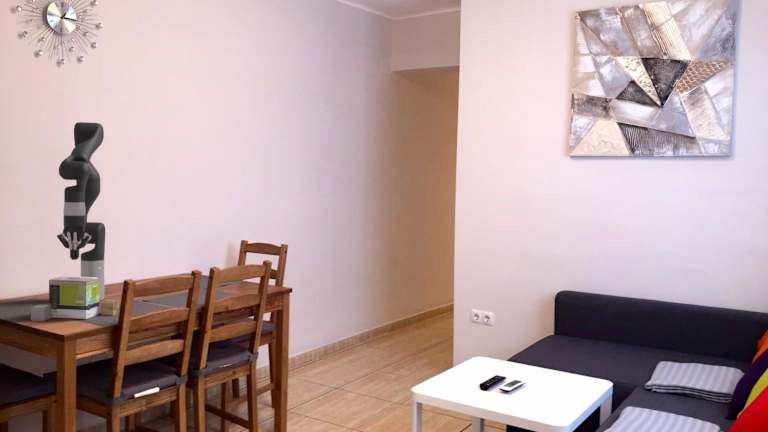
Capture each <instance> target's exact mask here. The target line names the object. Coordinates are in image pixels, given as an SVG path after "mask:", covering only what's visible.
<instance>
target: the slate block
mask: <svg viewBox="0 0 768 432" xmlns="http://www.w3.org/2000/svg"><path fill="white" fill-rule="evenodd" d="M52 318H53V317H52V308H51V305H49V304H40V303H39V304H36V305H34V306H30V321H35V322H36V321H37V322H38V321H39V322H45V321H47V320H50V319H52Z"/></svg>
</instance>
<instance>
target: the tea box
mask: <svg viewBox="0 0 768 432" xmlns="http://www.w3.org/2000/svg"><path fill="white" fill-rule="evenodd" d="M48 299H49V300H48V301H49V302H48V305H51V308H52V318H53V319H55V318H56V319H57V318H58V319H60V318H61V319H75V320H76V319H79V320H88V319H90V318H93V317H95V316H98V315H100V307H101V301H100V300H99V277H81V276H73V275H71V276H70V275H64V276H63V275H62V276H59V277H55V278H52V279H51V278H50V279H49V280H48Z"/></svg>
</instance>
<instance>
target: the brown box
mask: <svg viewBox="0 0 768 432" xmlns="http://www.w3.org/2000/svg"><path fill="white" fill-rule="evenodd" d="M119 313H120V300H119V299H105V300H104V301H100V315H101V316H115V315H117V314H119Z"/></svg>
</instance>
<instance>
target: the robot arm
mask: <svg viewBox="0 0 768 432" xmlns="http://www.w3.org/2000/svg"><path fill="white" fill-rule="evenodd" d="M104 132H105V131H104V127H103V125H102V124H101V123H98V122H83V121H82V122H81V121H79V122H78V121H77V122H75V124H74V127H73V140H74V141H73V142H74V148H73V149H72V151H71V152H70V155H68V156H67V157H66V158H65V159H64V160H62V161H61V163H60V164H59V167H58V174H59V176H60V178H61V179H63V180H65V181H67V180H68V181H76V182H75V183H76V185H75V184H74V185H69V186H66V187H65V188H64V191H63V192H64V193H63V194H64V195H63V196H64V197H63V200H64V204H63V229H62V232H61V233H59V234H57V235H56V237H57V239H58V240H59V242H60V243H61V244H62V246H63V247H64V248H65V249H68V250H69V258H70V259H71V260H72V261H76V260H78V259H79V258H80V277H99V301H102V300H104V299H105V252H106V251H105V247H106V225H105V224H104V223H102V222H97V221H95V222H94V221H93V222H90V221H87V220H88V215H89V212H90V210H91V208H92V206H93V204H95V201H96V200H97V199H98V197H99V196H100V193H101V175H100V173H99V171H98V170H97V169H96V167H95V166H94V164H93V163H92V162H91V158H92V156H93V154H94V153H95V152H96V151H97V150H98V149H99V147H101V145H102V143H103V142H104V141H103V140H104V138H105V137H104V136H105V133H104ZM87 244H88V245H94V247H93V248H91V249H90V250H88V251H83V252H82V253H81V254H80V250H82V249H84V248H85V247H86V245H87Z"/></svg>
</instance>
